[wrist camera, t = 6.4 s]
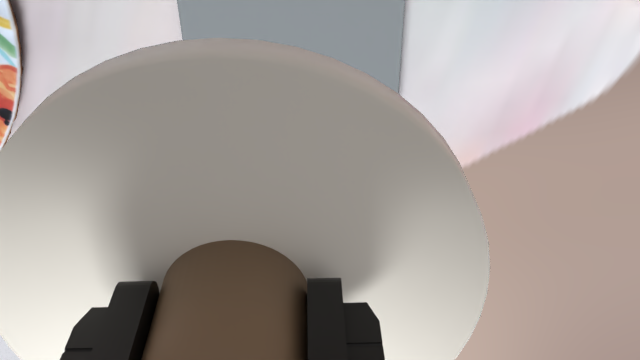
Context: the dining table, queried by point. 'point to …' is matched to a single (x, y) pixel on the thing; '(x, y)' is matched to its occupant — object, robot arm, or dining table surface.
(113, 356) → the robot arm
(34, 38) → the dining table surface
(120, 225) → the cover
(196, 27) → the mat
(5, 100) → the chocolate cake
